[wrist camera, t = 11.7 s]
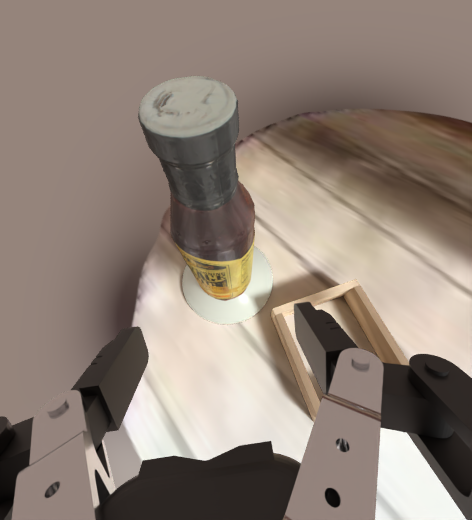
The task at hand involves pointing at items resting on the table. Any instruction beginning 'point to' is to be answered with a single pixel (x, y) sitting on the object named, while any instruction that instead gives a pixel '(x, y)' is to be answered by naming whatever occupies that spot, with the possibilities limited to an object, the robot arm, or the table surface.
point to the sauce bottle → (203, 179)
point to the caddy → (365, 317)
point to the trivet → (236, 307)
